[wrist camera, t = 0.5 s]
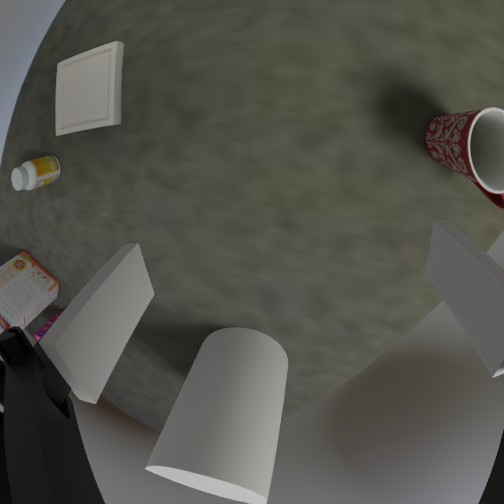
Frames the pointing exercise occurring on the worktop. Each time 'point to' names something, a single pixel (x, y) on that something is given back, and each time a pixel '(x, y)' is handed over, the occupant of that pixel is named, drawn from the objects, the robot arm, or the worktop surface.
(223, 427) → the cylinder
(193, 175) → the worktop surface
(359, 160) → the worktop surface
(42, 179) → the supplement bottle
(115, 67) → the tray
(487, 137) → the mug
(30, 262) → the cracker box
